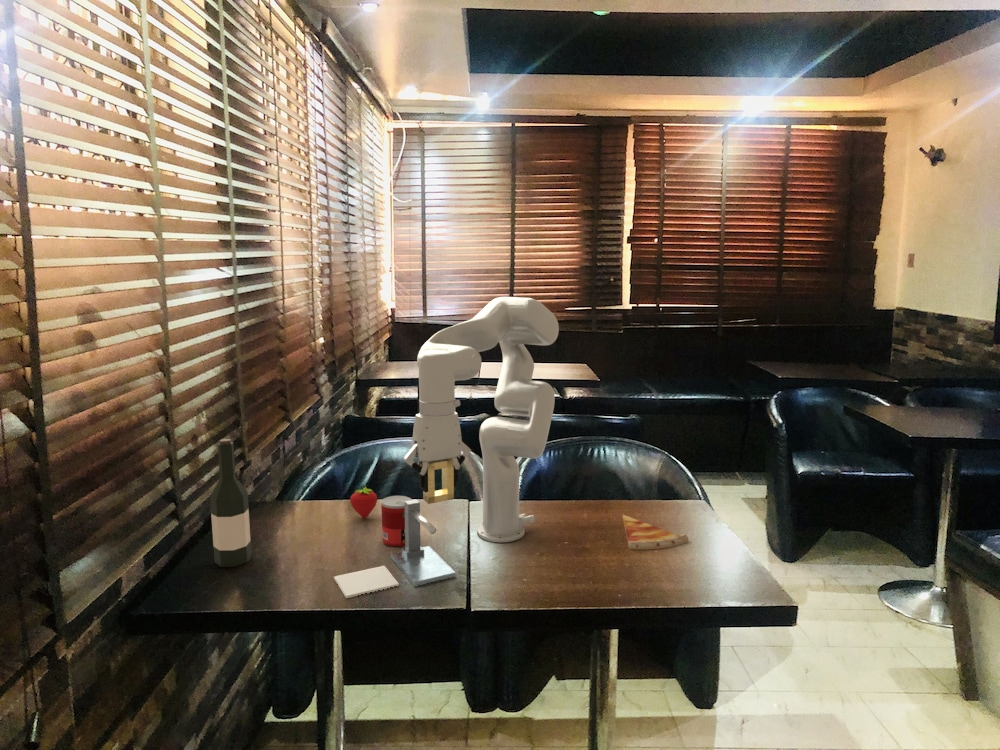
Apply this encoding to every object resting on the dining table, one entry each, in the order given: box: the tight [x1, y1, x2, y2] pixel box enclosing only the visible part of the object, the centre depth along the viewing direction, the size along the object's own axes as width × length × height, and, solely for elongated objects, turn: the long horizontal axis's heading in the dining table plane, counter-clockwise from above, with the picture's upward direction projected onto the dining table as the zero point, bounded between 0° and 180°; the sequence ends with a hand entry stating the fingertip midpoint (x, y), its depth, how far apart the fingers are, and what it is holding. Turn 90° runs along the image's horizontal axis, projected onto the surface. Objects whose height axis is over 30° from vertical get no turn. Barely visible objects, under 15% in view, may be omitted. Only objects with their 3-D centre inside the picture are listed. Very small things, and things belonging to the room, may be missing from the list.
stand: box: [390, 499, 456, 587], centre depth 160 cm, size 10×16×14 cm, turn 28°
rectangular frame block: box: [422, 459, 455, 505], centre depth 149 cm, size 6×3×9 cm, turn 118°
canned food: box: [380, 495, 413, 547], centre depth 175 cm, size 8×8×11 cm
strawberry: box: [349, 482, 378, 519], centre depth 191 cm, size 6×8×10 cm
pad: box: [333, 565, 400, 599], centre depth 154 cm, size 12×10×1 cm
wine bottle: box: [209, 438, 252, 568], centre depth 162 cm, size 8×8×30 cm
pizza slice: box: [622, 514, 689, 550], centre depth 183 cm, size 16×22×2 cm
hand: (438, 487), depth 149 cm, fingers closed on rectangular frame block, 6 cm apart
